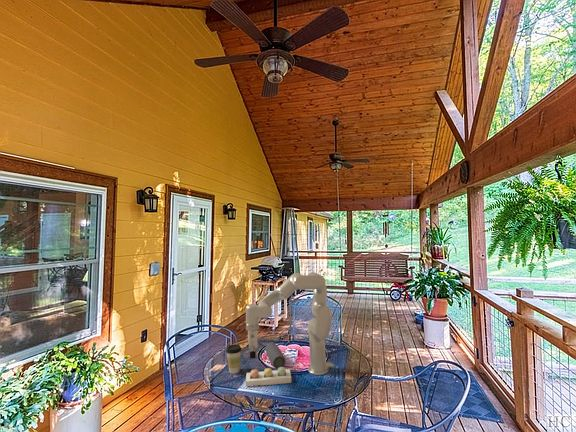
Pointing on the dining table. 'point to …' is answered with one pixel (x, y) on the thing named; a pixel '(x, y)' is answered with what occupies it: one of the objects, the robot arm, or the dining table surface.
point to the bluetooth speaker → (275, 355)
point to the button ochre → (268, 372)
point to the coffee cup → (234, 358)
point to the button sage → (281, 371)
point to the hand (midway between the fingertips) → (252, 357)
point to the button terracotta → (254, 373)
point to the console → (268, 378)
